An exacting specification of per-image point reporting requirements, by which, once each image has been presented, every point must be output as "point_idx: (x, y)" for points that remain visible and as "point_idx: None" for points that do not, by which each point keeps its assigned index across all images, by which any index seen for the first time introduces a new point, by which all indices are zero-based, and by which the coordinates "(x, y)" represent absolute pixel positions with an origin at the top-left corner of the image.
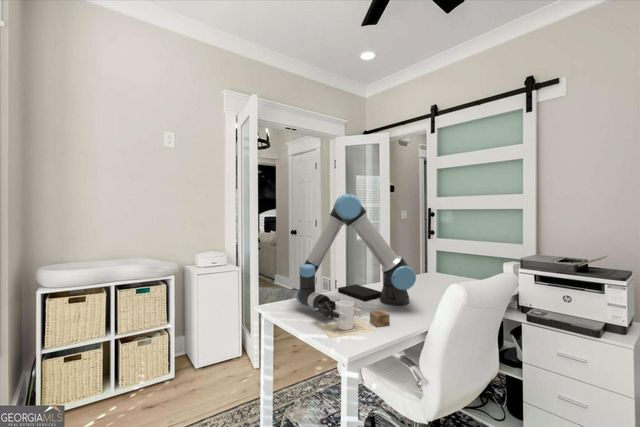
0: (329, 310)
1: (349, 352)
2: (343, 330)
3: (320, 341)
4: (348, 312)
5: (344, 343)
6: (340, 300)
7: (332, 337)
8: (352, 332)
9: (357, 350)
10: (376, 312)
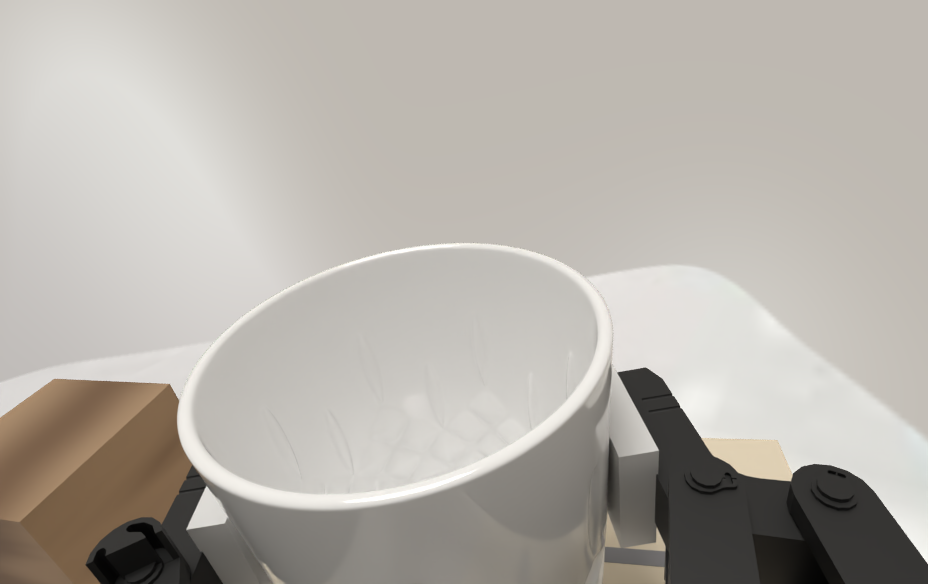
0: (755, 580)
1: (670, 280)
2: None
3: (902, 439)
4: (466, 333)
5: (658, 354)
6: (316, 498)
7: (744, 450)
8: None
9: (612, 285)
10: (26, 464)
